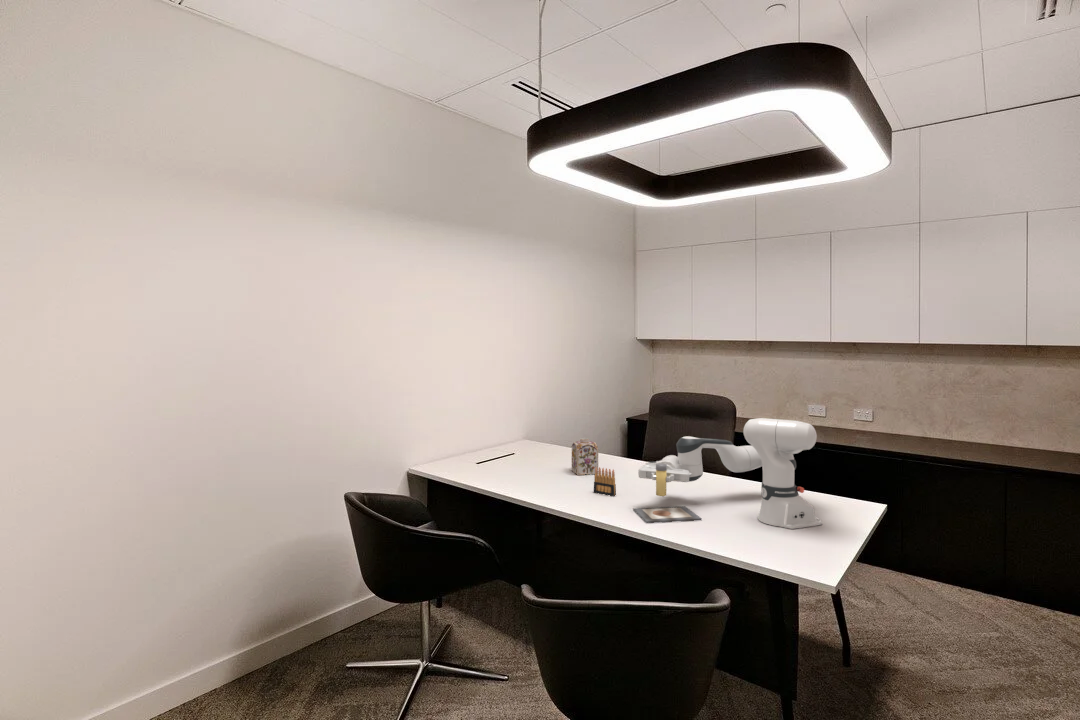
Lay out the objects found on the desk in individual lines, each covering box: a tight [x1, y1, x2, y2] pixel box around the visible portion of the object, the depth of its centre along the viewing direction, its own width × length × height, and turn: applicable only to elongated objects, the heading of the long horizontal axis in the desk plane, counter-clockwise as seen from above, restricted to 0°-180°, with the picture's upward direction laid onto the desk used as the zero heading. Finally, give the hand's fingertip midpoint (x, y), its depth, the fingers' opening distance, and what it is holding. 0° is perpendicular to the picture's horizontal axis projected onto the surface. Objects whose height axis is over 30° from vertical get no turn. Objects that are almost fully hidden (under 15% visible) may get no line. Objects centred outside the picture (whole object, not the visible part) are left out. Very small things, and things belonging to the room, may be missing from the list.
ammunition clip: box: [593, 466, 617, 497], centre depth 248 cm, size 11×2×12 cm, turn 53°
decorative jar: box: [571, 437, 599, 476], centre depth 288 cm, size 12×12×18 cm
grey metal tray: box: [632, 505, 702, 524], centre depth 218 cm, size 22×16×1 cm
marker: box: [655, 463, 667, 497], centre depth 217 cm, size 4×4×12 cm
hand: (660, 478), depth 216 cm, fingers closed on marker, 4 cm apart
